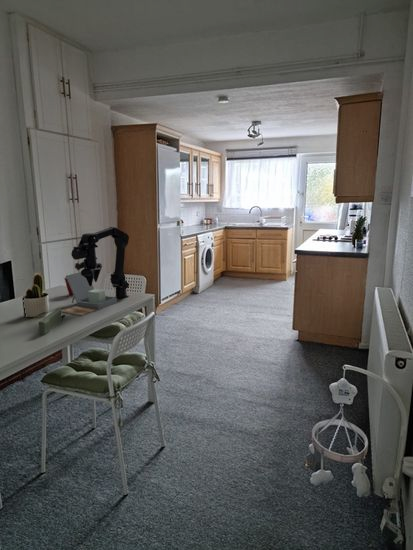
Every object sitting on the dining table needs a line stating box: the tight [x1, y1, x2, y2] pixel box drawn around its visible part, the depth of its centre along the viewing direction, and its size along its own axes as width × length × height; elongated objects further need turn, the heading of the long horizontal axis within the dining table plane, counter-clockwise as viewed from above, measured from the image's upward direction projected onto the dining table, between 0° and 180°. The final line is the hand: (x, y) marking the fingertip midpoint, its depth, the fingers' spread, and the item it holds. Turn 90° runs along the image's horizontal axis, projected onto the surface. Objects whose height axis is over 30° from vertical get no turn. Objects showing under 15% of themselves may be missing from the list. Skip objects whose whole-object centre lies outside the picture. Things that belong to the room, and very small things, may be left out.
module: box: [88, 288, 106, 304], centre depth 212 cm, size 5×8×8 cm, turn 64°
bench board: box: [61, 305, 97, 317], centre depth 200 cm, size 11×15×1 cm
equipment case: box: [65, 271, 118, 311], centre depth 213 cm, size 16×23×17 cm
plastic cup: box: [63, 276, 73, 297], centre depth 234 cm, size 11×11×12 cm
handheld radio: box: [37, 307, 66, 336], centre depth 178 cm, size 7×3×25 cm
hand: (93, 283), depth 207 cm, fingers open, 9 cm apart
